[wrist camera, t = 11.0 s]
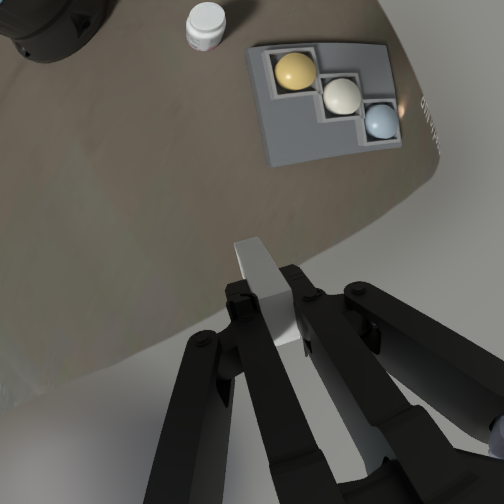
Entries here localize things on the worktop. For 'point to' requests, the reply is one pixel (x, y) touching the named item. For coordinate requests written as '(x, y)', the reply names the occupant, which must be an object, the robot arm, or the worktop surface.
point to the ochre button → (294, 71)
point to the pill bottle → (205, 26)
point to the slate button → (380, 121)
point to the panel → (320, 101)
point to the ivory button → (341, 96)
